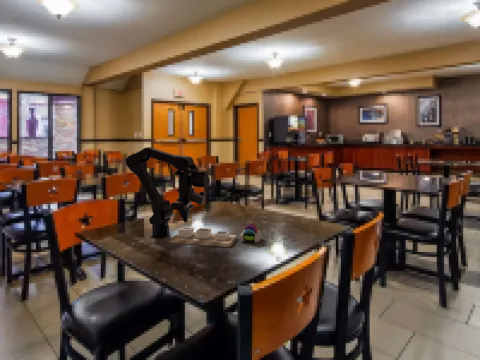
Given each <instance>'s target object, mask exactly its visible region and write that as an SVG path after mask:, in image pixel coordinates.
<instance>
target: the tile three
mask: <svg viewBox="0 0 480 360" xmlns="http://www.w3.org/2000/svg"><path fill="white" fill-rule="evenodd" d="M214 234H215V240H221V241H227V240H228V239H229V235H230V231H220V230H218V231H217V232H215V233H214Z"/></svg>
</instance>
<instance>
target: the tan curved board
mask: <svg viewBox="0 0 480 360" xmlns="http://www.w3.org/2000/svg"><path fill="white" fill-rule="evenodd" d="M215 234H216V233H212V232H211V236H210V237H209V238H208V239H205V238H196V231H194V234H193V235H192V236H191V237H179V235H178V233H177V234H175V235H173V236H172V237H170V238H169V243H171V244H187V245H198V246H208V247H209V246H211V247H213V246H214V247H226V248H230V247H231V246H232V245H233V244H234V243H235V241H237V238H238V236H237V234H229V239H228V240H227V241H221V240H215Z"/></svg>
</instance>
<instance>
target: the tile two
mask: <svg viewBox="0 0 480 360" xmlns="http://www.w3.org/2000/svg"><path fill="white" fill-rule="evenodd" d="M195 232H196V238H199V239H207V240H209V239H208V238H209V237H210V236H211V233H212V228H209V227H208V228H207V227H205V228H204V227H200V228H198V229H197V230H196V231H195Z"/></svg>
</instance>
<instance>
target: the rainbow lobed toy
mask: <svg viewBox="0 0 480 360" xmlns="http://www.w3.org/2000/svg"><path fill="white" fill-rule="evenodd" d="M262 237H263V233H262V231H260V230H258V228H257V226H256V224H255V223H248V225H246V226H245V228H244V229H243V230H242V232H241V233H240V234H239V240H240V241H241V242H242V243H244V242H245V241H254V243H255V244H257V243H258V242H260V240H261V239H262Z"/></svg>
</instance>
